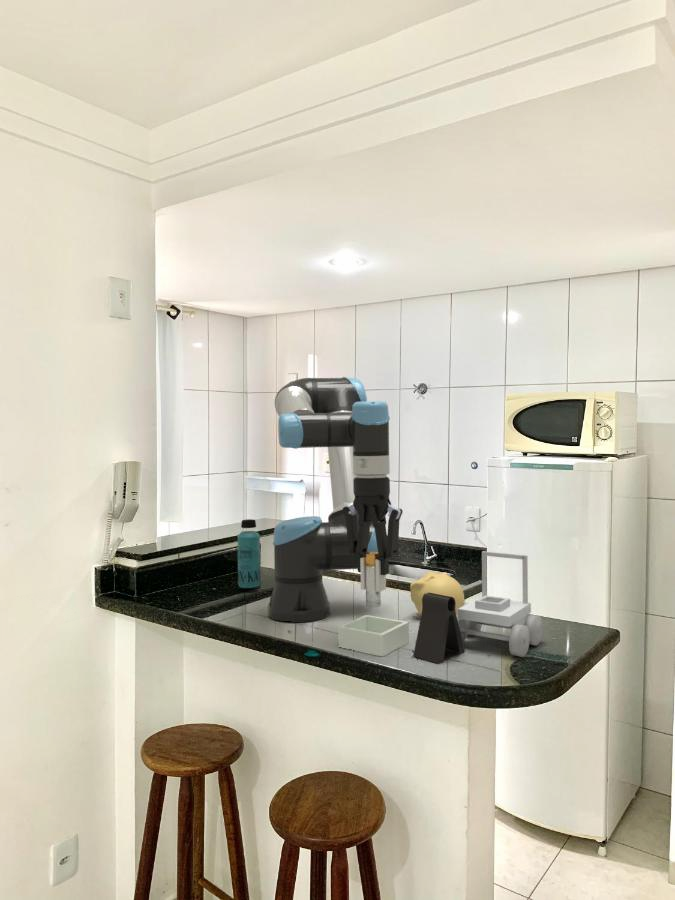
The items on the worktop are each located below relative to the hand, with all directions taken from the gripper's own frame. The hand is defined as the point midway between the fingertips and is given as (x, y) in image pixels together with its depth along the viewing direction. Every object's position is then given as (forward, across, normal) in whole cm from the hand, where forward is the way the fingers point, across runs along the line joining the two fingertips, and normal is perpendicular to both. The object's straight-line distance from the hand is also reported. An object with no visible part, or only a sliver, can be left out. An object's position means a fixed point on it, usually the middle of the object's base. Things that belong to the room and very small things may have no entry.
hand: (373, 589), depth 144 cm
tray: (+12, 0, 0) cm, 12 cm away
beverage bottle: (+12, -55, +23) cm, 61 cm away
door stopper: (+12, +14, +2) cm, 19 cm away
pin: (+3, 0, 0) cm, 3 cm away
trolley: (+12, +21, +14) cm, 28 cm away
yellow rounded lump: (+12, +2, +26) cm, 28 cm away
